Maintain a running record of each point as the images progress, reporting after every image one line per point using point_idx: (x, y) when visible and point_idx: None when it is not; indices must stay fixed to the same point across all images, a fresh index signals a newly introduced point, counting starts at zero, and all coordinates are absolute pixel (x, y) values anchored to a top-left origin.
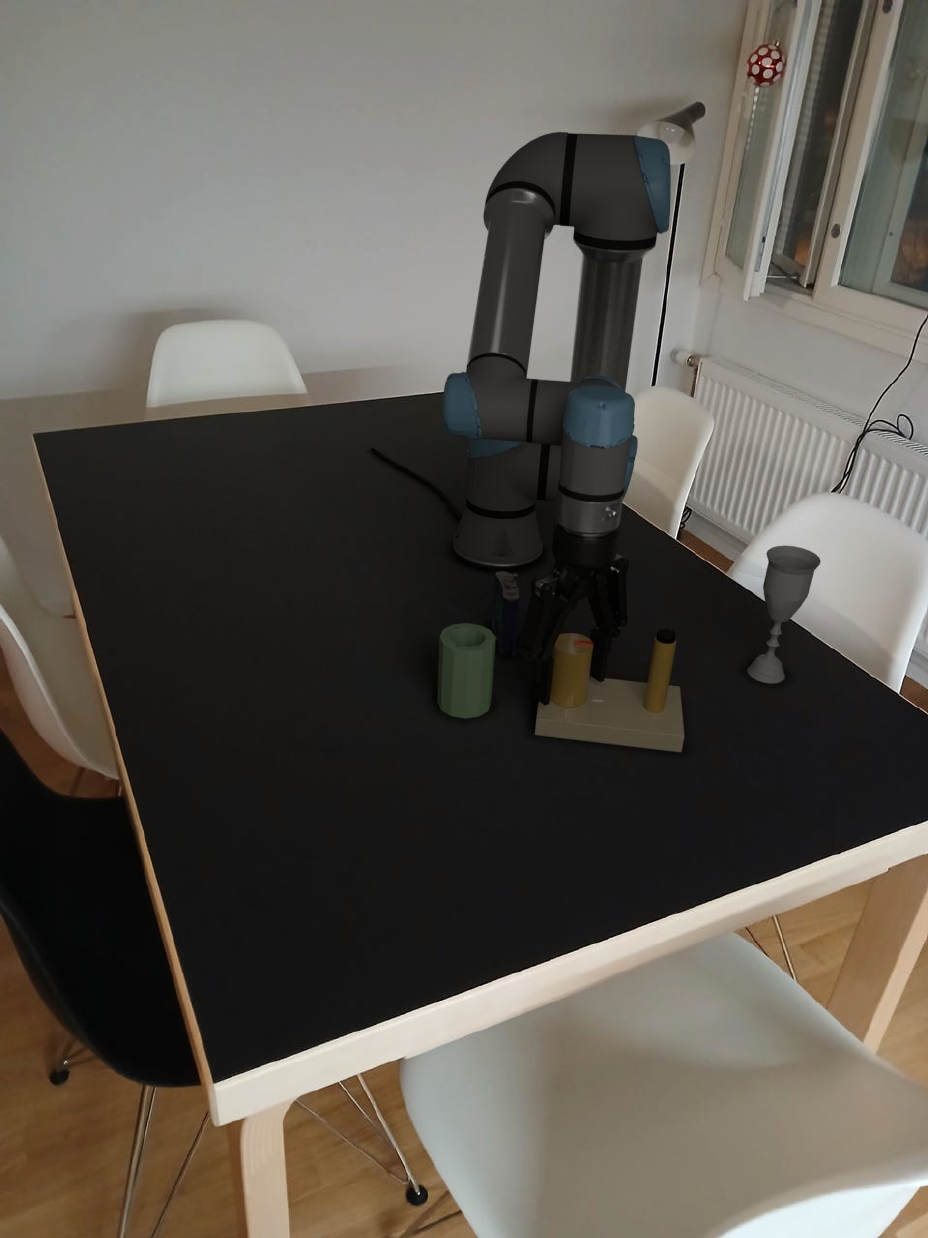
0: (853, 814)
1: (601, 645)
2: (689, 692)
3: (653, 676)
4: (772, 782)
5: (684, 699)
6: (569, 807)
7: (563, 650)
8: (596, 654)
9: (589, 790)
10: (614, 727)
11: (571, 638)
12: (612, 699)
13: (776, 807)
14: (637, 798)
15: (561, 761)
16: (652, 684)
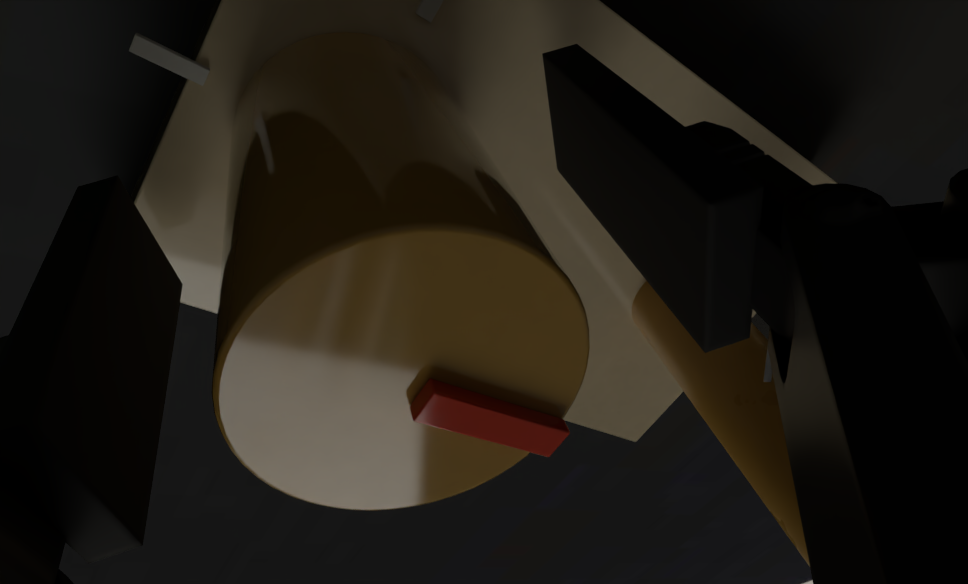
0: (755, 566)
1: (666, 277)
2: (898, 119)
3: (721, 441)
4: (711, 497)
5: (845, 155)
6: (146, 548)
7: (271, 474)
8: (621, 194)
9: (240, 498)
10: None
11: (441, 322)
12: (556, 218)
13: (651, 552)
14: (369, 526)
15: (192, 383)
16: (698, 407)
